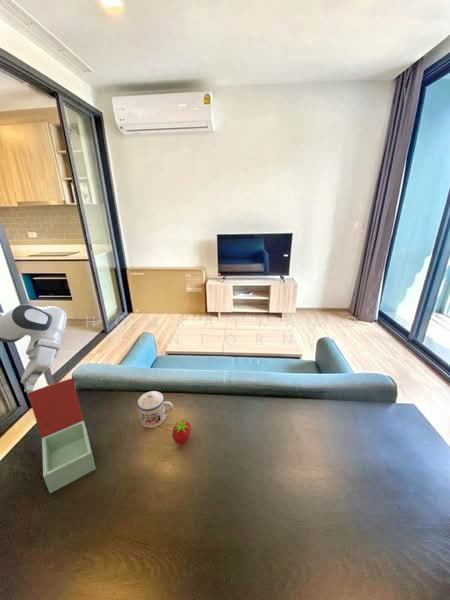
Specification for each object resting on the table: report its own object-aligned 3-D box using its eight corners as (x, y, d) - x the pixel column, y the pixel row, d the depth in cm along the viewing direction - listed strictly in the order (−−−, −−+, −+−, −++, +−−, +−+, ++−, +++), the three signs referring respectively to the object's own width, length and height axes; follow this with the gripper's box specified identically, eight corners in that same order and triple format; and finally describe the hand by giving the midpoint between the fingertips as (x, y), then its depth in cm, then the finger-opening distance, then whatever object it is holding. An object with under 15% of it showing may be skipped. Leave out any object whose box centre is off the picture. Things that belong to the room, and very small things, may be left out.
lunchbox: (95, 469, 75) (91, 452, 72) (49, 493, 69) (43, 476, 66) (87, 435, 86) (83, 420, 84) (47, 453, 80) (41, 438, 77)
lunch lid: (72, 378, 80) (72, 377, 80) (27, 393, 74) (27, 392, 74) (83, 419, 83) (83, 418, 84) (41, 437, 77) (41, 436, 77)
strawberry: (194, 434, 86) (192, 412, 82) (188, 454, 79) (186, 431, 75) (177, 432, 87) (175, 410, 83) (170, 452, 80) (168, 429, 76)
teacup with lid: (138, 430, 88) (133, 404, 84) (143, 410, 96) (139, 386, 92) (172, 427, 89) (169, 401, 85) (174, 408, 97) (172, 383, 93)
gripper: (24, 357, 90) (8, 397, 83) (40, 337, 79) (24, 381, 71) (44, 361, 94) (31, 399, 87) (62, 342, 83) (49, 384, 75)
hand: (28, 391), depth 79 cm, fingers closed
